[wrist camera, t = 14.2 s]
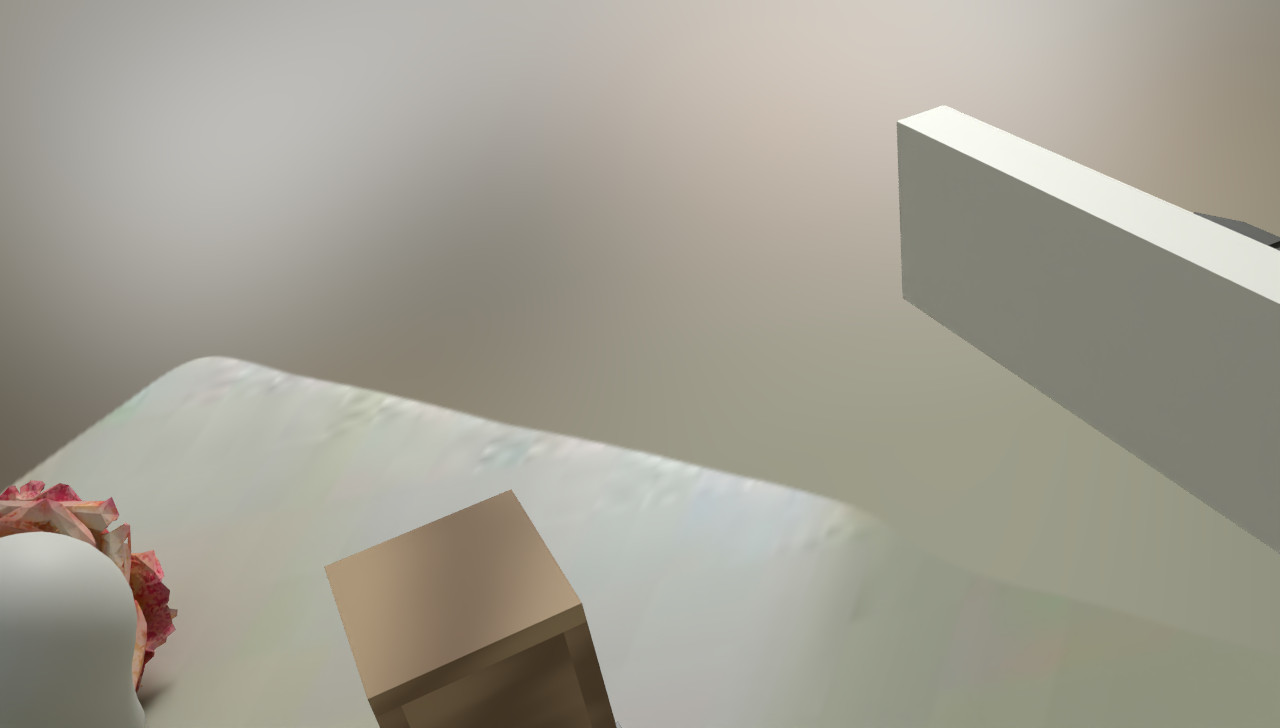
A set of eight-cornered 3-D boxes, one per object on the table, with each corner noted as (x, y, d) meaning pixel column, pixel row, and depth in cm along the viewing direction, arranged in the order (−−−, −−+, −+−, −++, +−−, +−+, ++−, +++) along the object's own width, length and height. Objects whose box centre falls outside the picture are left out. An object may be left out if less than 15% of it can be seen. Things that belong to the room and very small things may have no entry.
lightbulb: (243, 714, 43) (120, 481, 37) (184, 863, 38) (31, 619, 32) (89, 731, 44) (-55, 504, 38) (10, 879, 38) (-170, 643, 33)
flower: (-130, 686, 45) (-198, 622, 39) (45, 507, 51) (11, 423, 44) (76, 821, 45) (42, 778, 38) (232, 626, 50) (225, 558, 44)
